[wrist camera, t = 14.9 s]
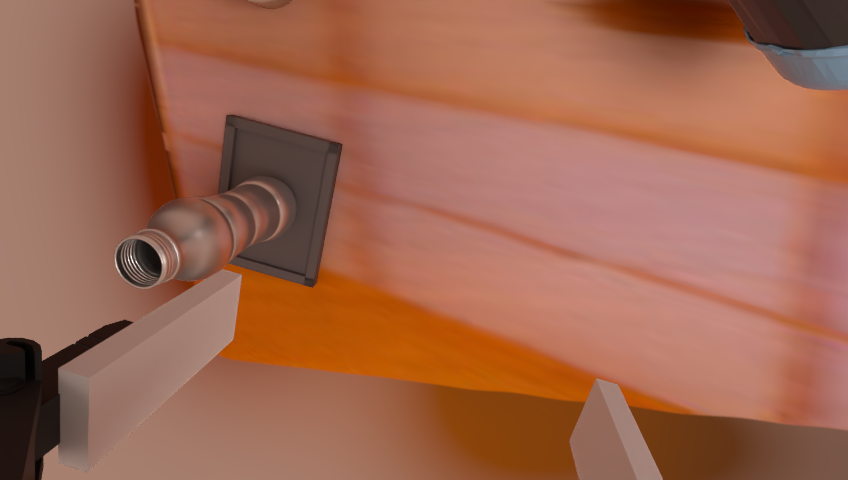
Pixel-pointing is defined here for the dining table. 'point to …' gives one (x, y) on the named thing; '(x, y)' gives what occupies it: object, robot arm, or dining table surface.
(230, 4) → the dining table surface
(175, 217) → the plastic bottle
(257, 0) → the white rounded cylinder
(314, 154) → the tray
